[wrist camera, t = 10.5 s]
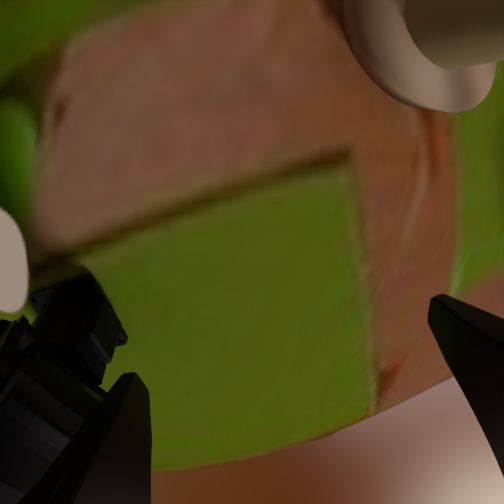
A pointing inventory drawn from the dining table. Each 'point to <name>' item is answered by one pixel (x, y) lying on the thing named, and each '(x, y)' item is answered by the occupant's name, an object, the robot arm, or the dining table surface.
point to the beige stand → (409, 60)
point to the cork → (457, 31)
